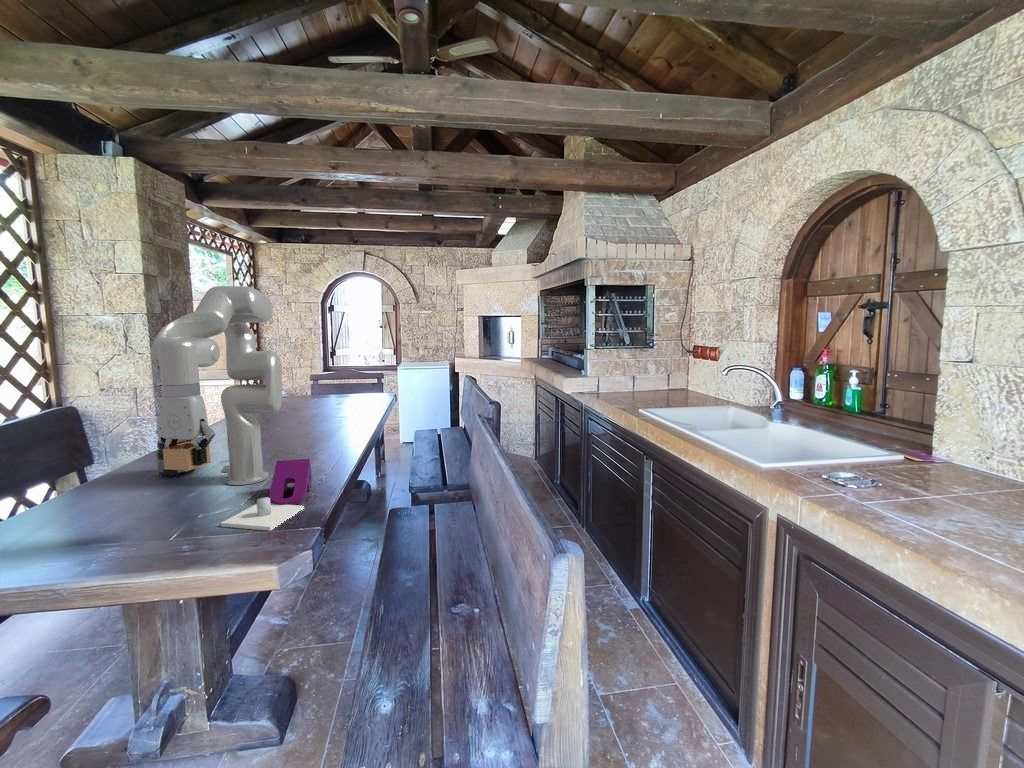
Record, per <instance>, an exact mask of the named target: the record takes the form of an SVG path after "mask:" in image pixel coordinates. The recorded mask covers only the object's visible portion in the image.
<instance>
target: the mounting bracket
mask: <svg viewBox="0 0 1024 768" xmlns="http://www.w3.org/2000/svg"><path fill="white" fill-rule="evenodd" d="M312 477H313V476H312V466H311V459H310V458H302V459H301V458H300V459H287V460H286V459H285V460H284V459H283V460H276V463H275V466H274V471H273V476H272V481H271V486H270V490H269V498H270V503H272V504H278V505H296V504H298V505H299V504H301V503H302V502H303V501H304V500H305V498H306V496H307V493H308V492H310V491H311V490H312ZM288 484H294V487H293V491H292V492H293V493H292V496H291V497H288V498H284V494H285V491H286V490H287V491H288ZM310 489H311V490H310ZM287 491H286V492H287Z"/></svg>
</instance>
